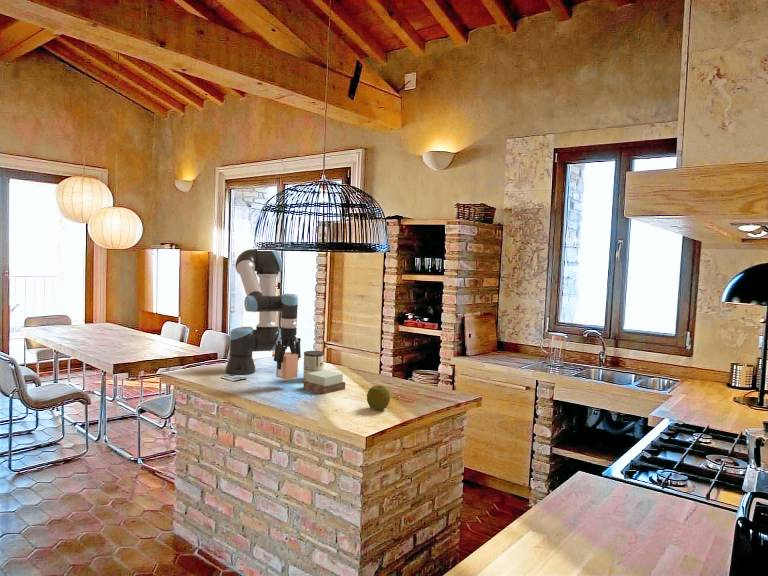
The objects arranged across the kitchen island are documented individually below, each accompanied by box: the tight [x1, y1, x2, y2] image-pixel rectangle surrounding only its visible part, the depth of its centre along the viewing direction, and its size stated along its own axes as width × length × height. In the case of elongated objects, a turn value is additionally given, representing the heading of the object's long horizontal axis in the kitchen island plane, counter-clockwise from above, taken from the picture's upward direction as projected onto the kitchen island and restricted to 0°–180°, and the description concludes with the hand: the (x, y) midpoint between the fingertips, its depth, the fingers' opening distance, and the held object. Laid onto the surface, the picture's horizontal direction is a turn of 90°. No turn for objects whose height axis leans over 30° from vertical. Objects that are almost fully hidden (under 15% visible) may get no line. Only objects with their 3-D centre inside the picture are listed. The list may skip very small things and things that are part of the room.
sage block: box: [307, 369, 344, 386], centre depth 272 cm, size 12×12×4 cm
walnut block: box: [303, 380, 346, 395], centre depth 272 cm, size 14×14×4 cm
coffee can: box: [302, 350, 325, 382], centre depth 289 cm, size 10×10×14 cm
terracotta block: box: [275, 351, 299, 380], centre depth 270 cm, size 7×7×11 cm
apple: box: [366, 385, 391, 411], centre depth 241 cm, size 10×10×11 cm
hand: (286, 374), depth 270 cm, fingers closed on terracotta block, 7 cm apart
